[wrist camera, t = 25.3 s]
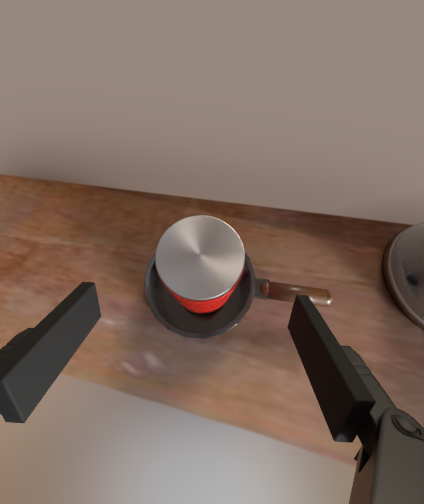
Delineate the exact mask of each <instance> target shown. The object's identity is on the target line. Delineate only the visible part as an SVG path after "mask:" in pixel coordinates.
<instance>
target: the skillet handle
mask: <svg viewBox="0 0 424 504" xmlns="http://www.w3.org/2000/svg"><path fill="white" fill-rule="evenodd" d="M296 295H308V296H309V298H310V299H311V301H312V302H313V304H314V305H316V306H328V305H330V304H331V302H332V299H333V297H332V294H331V293H330V292H329V291H328V290H325V289H319V288H312V287H305V286H298V285H291V284H283V283H276V282H269V280H267V279H260V278H255V294H254V297H253V298H258V299H265V300H267V299H274V300H281V301H288V302H294V301H295V297H296Z"/></svg>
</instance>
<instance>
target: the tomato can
mask: <svg viewBox="0 0 424 504" xmlns="http://www.w3.org/2000/svg"><path fill="white" fill-rule="evenodd" d="M155 264H156V269H157V272H158V275H159V278H160V280H161V282H162V284H163V285H164V286H165V288H166V289H167V290H168V291H169V292H170V293H171V294H172V295H173V297H174V298H175V299H176V300H177V301H178V302H179V303H180V304H181V306H182V307H183V308H185V309H186V310H187V311H189V312H191V313H194V314H198V315H206V314H211V313H214V312H216V311H217V310H219V309H220V308H222V307H223V306H224V304H225V303H226V302H227V300H228V299H229V297H230V295H231V294H232V292H233V291H234V289H235V287H236V286H237V284H238V282H239V281H240V279H241V277H242V274H243V271H244V265H245V250H244V246H243V243H242V241H241V239H240V237H239V235H238V234H237V233H236V231H235V230H234V229H233V228H232V227H231V226H230V225H228V224H227V223H225V222H224V221H222V220H220V219H217V218H215V217H211V216H204V215H197V216H190V217H186V218H184V219H181V220H179V221H177V222H176V223H174V224H173V225H171V226H170V227H169V228H168V229H167V230H166V231H165V232H164V234H163V235H162V236H161V238H160V240H159V242H158V245H157V248H156V252H155Z"/></svg>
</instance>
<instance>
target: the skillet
mask: <svg viewBox="0 0 424 504" xmlns="http://www.w3.org/2000/svg"><path fill="white" fill-rule="evenodd" d="M144 285H145V292H146V299H147V302H148V304H149V306H150V308H151V310H152V312H153V314H154V316H155V317H156V318H157V319H158V320H159V321H160V322H161V323H162V324H163V325H164V326H165V327H166V328H167V329H169V330H170V331H173V332H175V333H177V334H179V335H182V336H184V337H189V338H203V339H204V338H209V337H213V336H216V335H220V334H223V333H225V332H226V331H228V330H229V329H231V328H232V327H234V326H235V325H237V324H238V323H239V322H240V321H241V319H242V318H243V317H244V315H245V314H246V313H247V311H248V310H249V308H250V306H251V303H252V300H253V297H254V294H255V273H254V270H253V267H252V264H251V261H250V258H249V257H248V256H247V254H246V253H245V265H244V271H243V274H242V277H241V279H240V281H239V282H238V284H237V286H236V287H235V289H234V291H233V292H232V294H231V295H230V297H229V299H228V300H227V302H226V303H225V304H224V306H223V307H222V308H220V309H219V310H217V311H216V312H214V313H211V314H206V315H198V314H194V313H191V312H189V311H187V310H186V309H185V308H183V307H182V306H181V304H180V303H179V302H178V301H177V300H176V299H175V298H174V297H173V295H172V294H171V293H170V292H169V291H168V290H167V289H166V288H165V286H164V285H163V284H162V282H161V280H160V278H159V275H158V272H157V269H156V264H155V253H154V255H153V257H152V259H151V261H150V263H149V265H148V267H147V272H146V277H145V283H144Z"/></svg>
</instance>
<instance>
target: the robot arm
mask: <svg viewBox="0 0 424 504" xmlns="http://www.w3.org/2000/svg"><path fill="white" fill-rule="evenodd" d="M383 271H384V277H385V280H386V283H387V286H388V289H389V291H390V293H391V295H392V297H393V298H394V300H395V302H396V303H397V304H398V306H399V307H400V308H401V310H402V311H403V312H404V313H405V314H406V315H407V316H408V317H409V318H410V319H411V320H412V321H413V322H414V323H415V324H416V325H418V326H419V327H420V328H422V329H423V330H424V222H423V223H419V224H417V225H414V226H411V227H409V228H407V229H405V230H403V231H402V232H400V233H398V234H397V235H396V236H394V237H393V238H392V240H391V241H390V242H389V244H388V245H387V247H386V250H385V253H384V257H383ZM100 317H101V313H100V307H99V302H98V297H97V292H96V287H95V283H92V282H82V283H81V284H80V285H79V286H78V287H77V288H76V289H75V290H74V291H73V292H72V293H71V294H70V295H68V296H67V297H66V298H65V299H64V300H63V301H62V302H61V303H60V304H59V305H58V306H57V307H56V308H55V309H54V310H53V311H52V312H50V313H49V314H48V315H47V316H46V317H45V318H44V319H43V320H42V321H41V322H40V323H39V324H38V325H37V326H36V327H35V328H28V329H26V330H24V331H23V332H21V333H19V334H17V335H16V336H15V337H14V338H13V339H11V340H10V341H9V342H8V343H7V345H6V346H4V347H3V348H1V349H0V414H2V416H3V418H4V419H5V421H6V422H13V423H24V422H25V421H26V420H27V418H28V417H29V416H30V414H31V413H32V411H33V410H34V409H35V407H36V406H37V404H38V403H39V402H40V400H41V399H42V397H43V396H44V395H45V393H46V392H47V391H48V389H49V388H50V386H51V385H52V384H53V382H54V381H55V380H56V378H57V376H58V375H59V374H60V373H61V371H62V370H63V368H64V367H65V366H66V364H67V363H68V361H69V360H70V359H71V357H72V356H73V355H74V353H75V352H76V350H77V349H78V348H79V346H80V345H81V343H82V342H83V341H84V339H85V338H86V337H87V335H88V334H89V332H90V331H91V330H92V328H93V327H94V325H95V324H96V323H97V321H98V320H99V318H100ZM288 329H289V331H290V334H291V336H292V339H293V341H294V344H295V346H296V349H297V351H298V353H299V356H300V358H301V361H302V363H303V366H304V368H305V371H306V373H307V376H308V378H309V381H310V383H311V385H312V388H313V390H314V393H315V395H316V398H317V400H318V403H319V405H320V408H321V410H322V413H323V415H324V417H325V420H326V422H327V425H328V427H329V430H330V432H331V435H332V437H333V440H334V441H336V442H353V440H354V439H355V437H356V435H358V437H359V439H360V441H361V443H362V446H361V448H360V450H359V451H358V453H357V454H356V456H355V458H354V459H355V460H356V461H358V462H357V467H356V472H355V476H354V481H353V487H352V492H351V496H350V501H349V504H424V428H423V427H422V426H421V425H420V424H419V423H418V422H417V421H416V420H415V419H414V418H413V417H411V416H410V415H409V414H407V413H406V412H404V411H402V410H400V409H397V407H396V406H395V405H394V404H393V402H392V401H391V399H390V398H389V396H388V395H387V394H386V392H385V391H384V389H383V388H382V387H381V385H380V384H379V382H378V381H377V379H376V378H375V377H374V375H372V372H371V371H370V370H369V368H368V367H367V366H366V364H365V362H364V361H363V360H362V358H361V357H360V355H359V354H358V353H356V352H355V351H354V350H353V349H352V348H351V347H350V346H340V344H339V343H338V341H337V340H336V338H335V337H334V335H333V334H332V332H331V330H330V329H329V327H328V326H327V324H326V323H325V321H324V319H323V318H322V316H321V315H320V313H319V312H318V310H317V309H316V307H315V305H314V304H313V302H312V301H311V299H310V298H309V296H308V295H296V297H295V301H294V305H293V309H292V313H291V317H290V321H289V324H288Z"/></svg>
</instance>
